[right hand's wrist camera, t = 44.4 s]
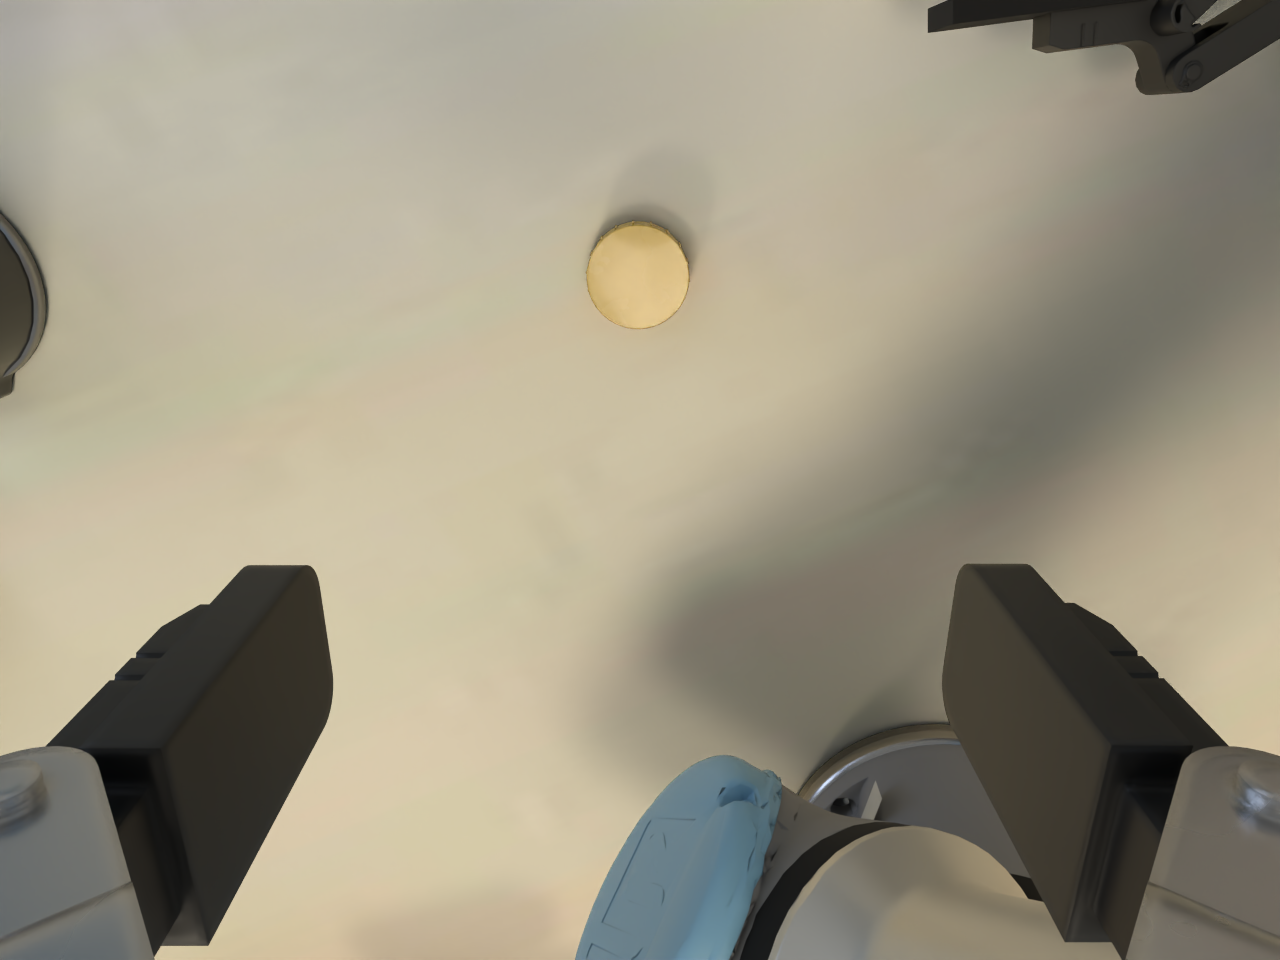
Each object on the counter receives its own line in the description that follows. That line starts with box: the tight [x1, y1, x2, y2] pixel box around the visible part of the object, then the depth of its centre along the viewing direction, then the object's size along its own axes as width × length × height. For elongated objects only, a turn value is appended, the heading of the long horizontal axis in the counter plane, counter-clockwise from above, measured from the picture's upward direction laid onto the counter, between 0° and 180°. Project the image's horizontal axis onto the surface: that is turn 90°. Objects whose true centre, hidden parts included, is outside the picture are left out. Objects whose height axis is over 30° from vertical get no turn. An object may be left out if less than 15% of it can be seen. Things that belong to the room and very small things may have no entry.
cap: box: [586, 220, 690, 329], centre depth 39 cm, size 4×4×2 cm
